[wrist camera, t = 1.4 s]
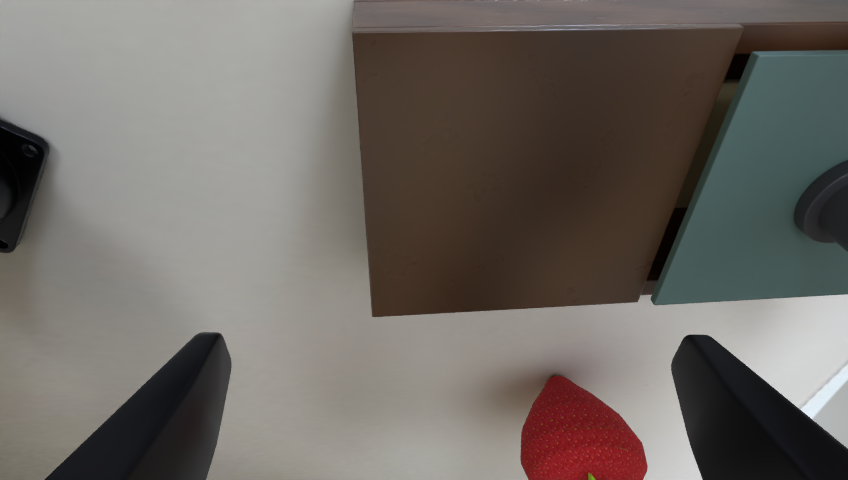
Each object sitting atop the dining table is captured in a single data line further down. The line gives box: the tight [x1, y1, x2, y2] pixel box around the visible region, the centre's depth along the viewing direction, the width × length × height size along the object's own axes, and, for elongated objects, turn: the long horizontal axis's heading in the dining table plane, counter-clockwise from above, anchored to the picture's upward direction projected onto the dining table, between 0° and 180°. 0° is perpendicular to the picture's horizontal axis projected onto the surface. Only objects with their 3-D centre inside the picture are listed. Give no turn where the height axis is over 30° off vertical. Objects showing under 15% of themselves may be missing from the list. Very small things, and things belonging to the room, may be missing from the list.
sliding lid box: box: [352, 0, 848, 317], centre depth 21 cm, size 24×12×4 cm, turn 89°
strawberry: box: [521, 376, 647, 480], centre depth 30 cm, size 6×8×10 cm
